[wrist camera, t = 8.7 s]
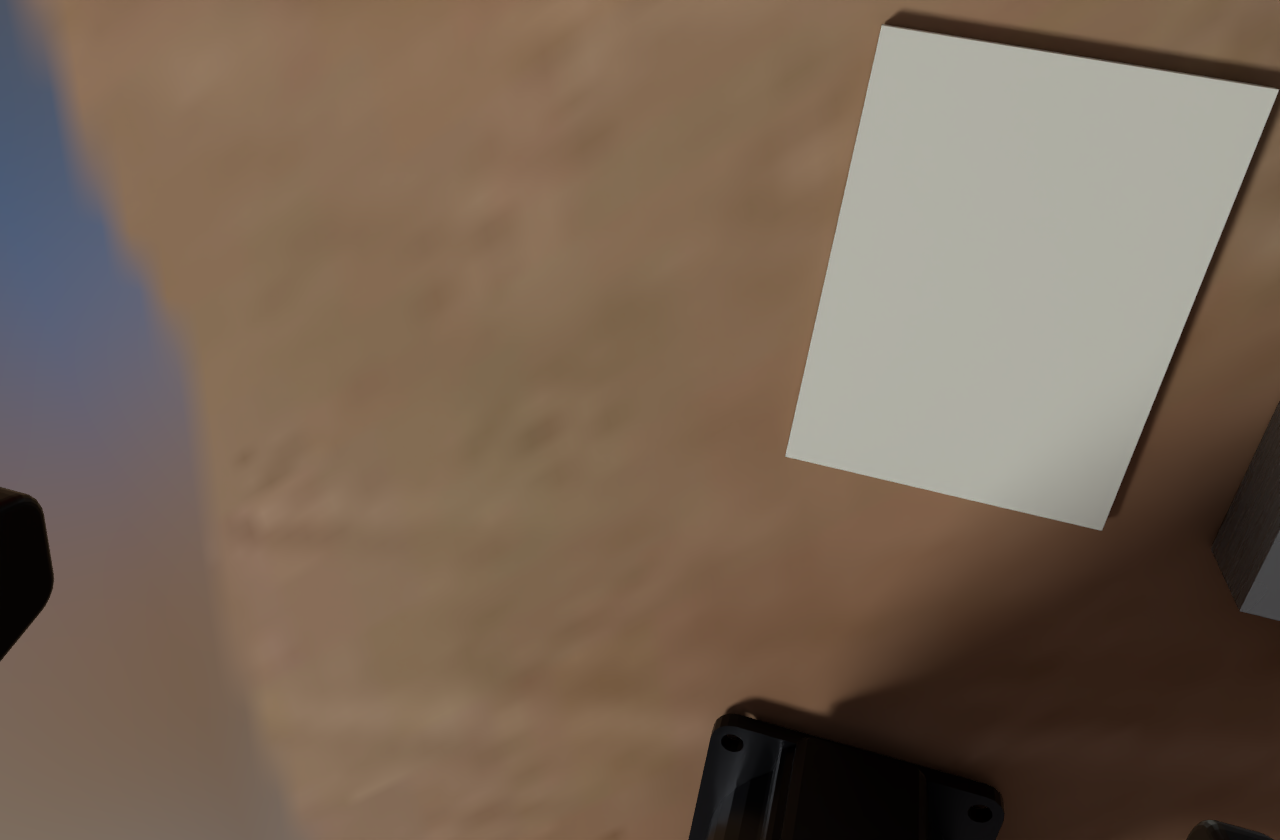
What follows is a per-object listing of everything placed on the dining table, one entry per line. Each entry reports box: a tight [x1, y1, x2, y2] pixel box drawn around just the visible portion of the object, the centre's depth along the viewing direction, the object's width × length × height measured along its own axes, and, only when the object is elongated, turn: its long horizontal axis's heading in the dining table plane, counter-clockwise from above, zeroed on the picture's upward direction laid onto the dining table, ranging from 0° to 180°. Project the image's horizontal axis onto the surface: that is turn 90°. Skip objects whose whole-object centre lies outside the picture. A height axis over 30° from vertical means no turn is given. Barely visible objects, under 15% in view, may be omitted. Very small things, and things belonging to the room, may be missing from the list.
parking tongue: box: [785, 24, 1279, 531], centre depth 18 cm, size 8×6×1 cm
